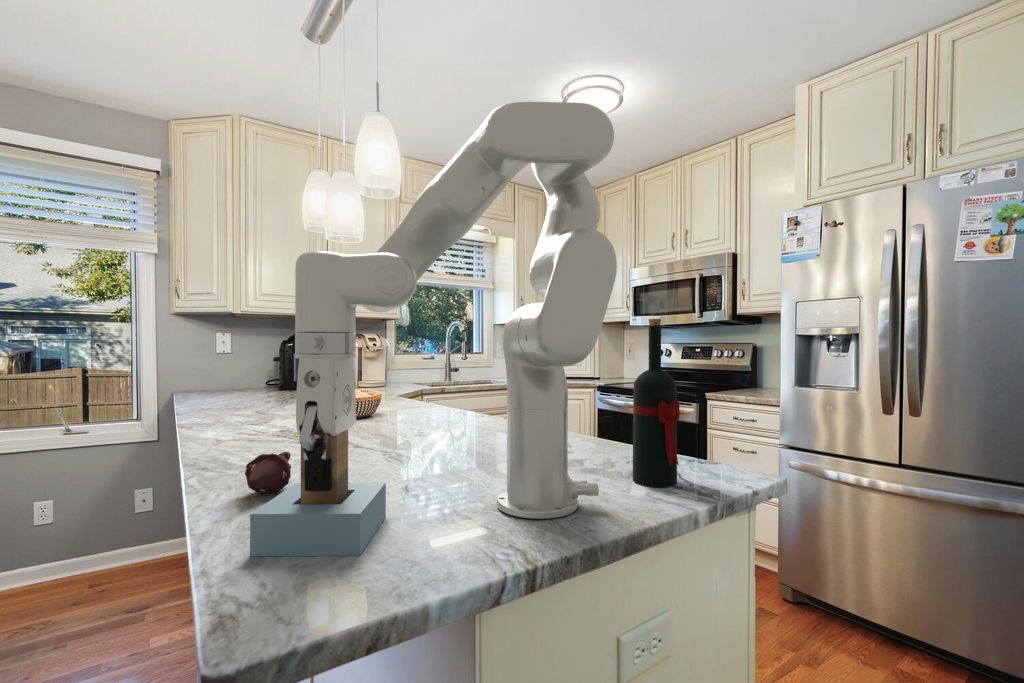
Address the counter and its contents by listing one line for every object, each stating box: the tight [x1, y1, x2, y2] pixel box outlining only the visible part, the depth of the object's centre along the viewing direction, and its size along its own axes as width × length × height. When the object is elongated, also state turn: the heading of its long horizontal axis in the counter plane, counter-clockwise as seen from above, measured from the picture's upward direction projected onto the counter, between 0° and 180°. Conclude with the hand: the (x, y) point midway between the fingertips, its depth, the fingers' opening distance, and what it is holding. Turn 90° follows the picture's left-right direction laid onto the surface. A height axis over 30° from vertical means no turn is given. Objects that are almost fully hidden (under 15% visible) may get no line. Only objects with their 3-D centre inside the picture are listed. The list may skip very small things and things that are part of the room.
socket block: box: [249, 482, 387, 557], centre depth 65 cm, size 13×13×5 cm
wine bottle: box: [632, 318, 680, 489], centre depth 89 cm, size 8×10×30 cm
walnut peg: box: [300, 429, 349, 505], centre depth 65 cm, size 5×5×12 cm
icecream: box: [244, 451, 292, 496], centre depth 83 cm, size 7×7×15 cm
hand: (325, 483), depth 65 cm, fingers closed on walnut peg, 4 cm apart
